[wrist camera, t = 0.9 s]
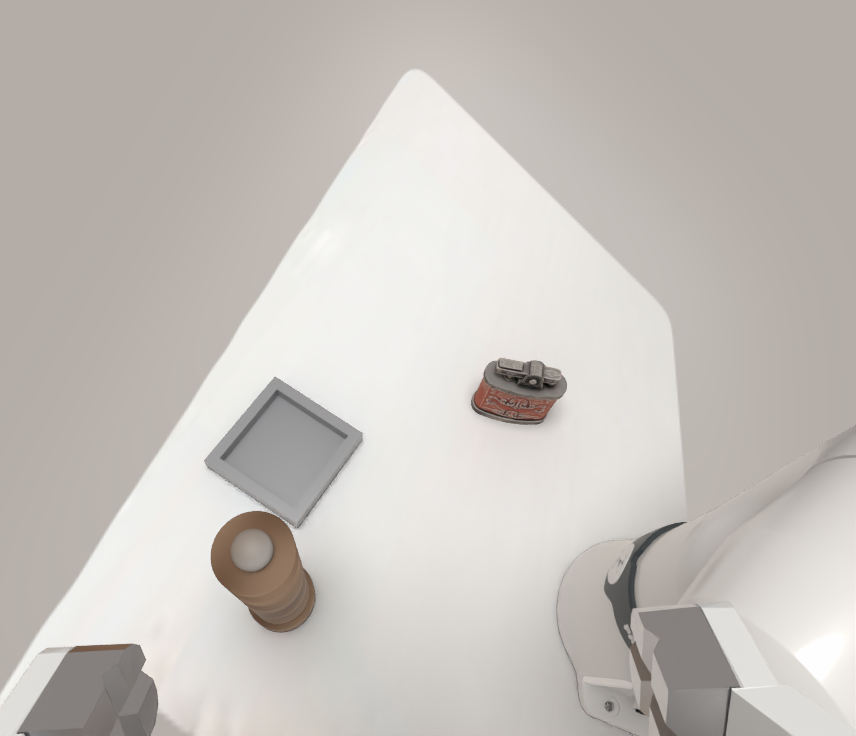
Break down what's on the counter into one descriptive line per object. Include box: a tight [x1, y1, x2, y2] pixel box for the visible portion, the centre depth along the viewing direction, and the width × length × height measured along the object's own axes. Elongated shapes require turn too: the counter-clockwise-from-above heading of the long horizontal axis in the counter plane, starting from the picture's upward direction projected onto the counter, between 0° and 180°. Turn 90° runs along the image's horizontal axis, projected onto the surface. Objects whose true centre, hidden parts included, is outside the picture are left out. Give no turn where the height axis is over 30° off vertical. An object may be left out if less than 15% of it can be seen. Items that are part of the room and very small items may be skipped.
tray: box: [204, 377, 363, 528], centre depth 64 cm, size 11×11×2 cm
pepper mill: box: [211, 511, 315, 632], centre depth 48 cm, size 6×6×25 cm
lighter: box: [471, 358, 567, 425], centre depth 65 cm, size 8×3×10 cm, turn 81°
